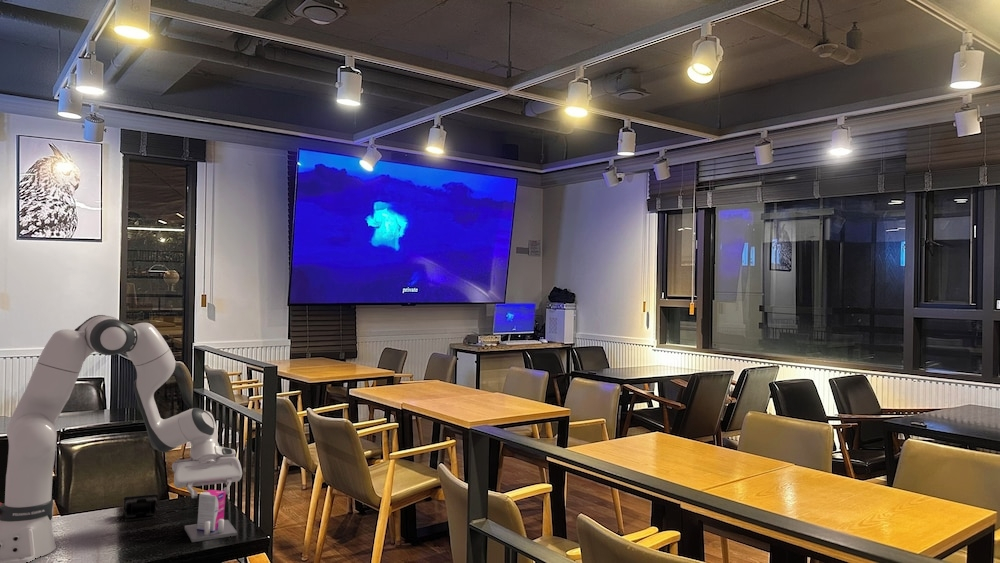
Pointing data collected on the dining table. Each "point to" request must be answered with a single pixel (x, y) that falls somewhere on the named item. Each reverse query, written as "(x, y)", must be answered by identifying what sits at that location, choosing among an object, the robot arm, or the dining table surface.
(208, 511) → the supplement box
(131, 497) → the end cap
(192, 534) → the pin tray
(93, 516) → the dining table surface
